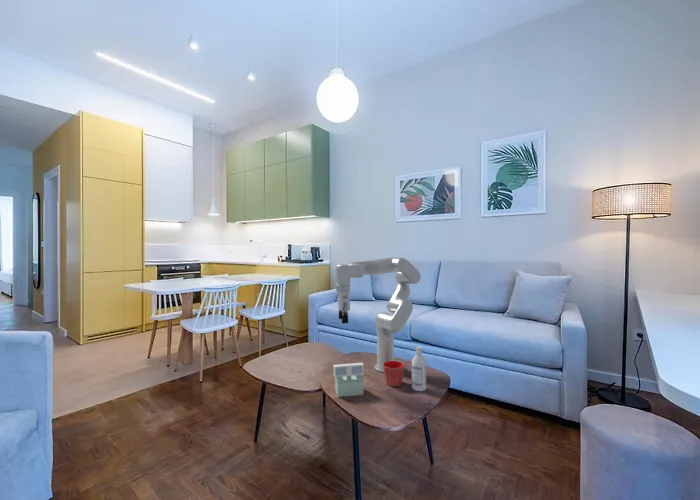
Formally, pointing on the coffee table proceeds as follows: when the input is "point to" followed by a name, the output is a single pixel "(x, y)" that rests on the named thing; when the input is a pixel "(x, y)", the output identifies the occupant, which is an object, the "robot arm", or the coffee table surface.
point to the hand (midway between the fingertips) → (343, 321)
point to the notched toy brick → (349, 385)
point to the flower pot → (393, 372)
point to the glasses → (348, 370)
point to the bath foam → (418, 371)
